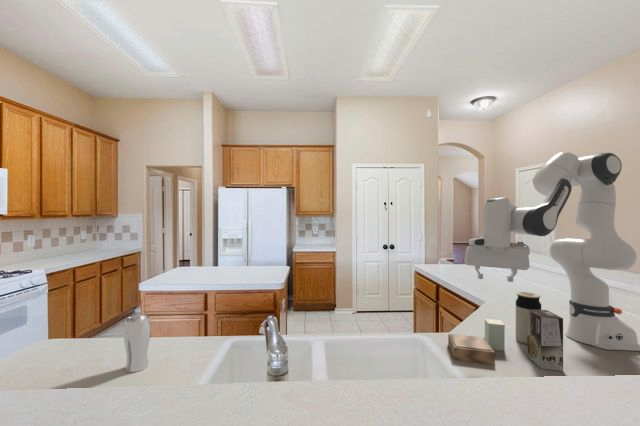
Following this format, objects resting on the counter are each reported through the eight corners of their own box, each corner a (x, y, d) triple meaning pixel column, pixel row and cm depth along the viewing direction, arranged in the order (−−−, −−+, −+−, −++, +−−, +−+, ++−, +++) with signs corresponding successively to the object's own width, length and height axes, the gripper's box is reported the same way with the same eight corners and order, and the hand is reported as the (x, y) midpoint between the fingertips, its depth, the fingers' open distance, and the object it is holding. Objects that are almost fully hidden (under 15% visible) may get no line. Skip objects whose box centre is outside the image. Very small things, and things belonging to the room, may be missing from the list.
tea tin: (500, 344, 109) (500, 320, 109) (504, 350, 104) (504, 325, 104) (484, 343, 110) (484, 318, 110) (488, 349, 105) (488, 323, 105)
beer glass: (131, 362, 93) (132, 314, 93) (154, 361, 94) (155, 314, 94) (118, 373, 86) (119, 322, 86) (142, 373, 87) (143, 322, 87)
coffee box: (564, 371, 90) (564, 318, 90) (540, 369, 91) (540, 317, 92) (547, 357, 99) (547, 309, 99) (526, 355, 100) (526, 308, 101)
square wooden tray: (484, 348, 105) (484, 336, 105) (494, 365, 94) (494, 351, 94) (448, 344, 108) (448, 333, 108) (454, 359, 97) (454, 346, 97)
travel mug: (520, 344, 109) (520, 295, 110) (512, 336, 117) (512, 290, 117) (545, 347, 107) (545, 297, 107) (536, 338, 115) (536, 292, 115)
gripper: (526, 243, 106) (525, 281, 106) (464, 239, 113) (463, 275, 113) (533, 244, 100) (532, 284, 100) (466, 240, 107) (465, 278, 107)
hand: (495, 280), depth 106 cm, fingers open, 8 cm apart
